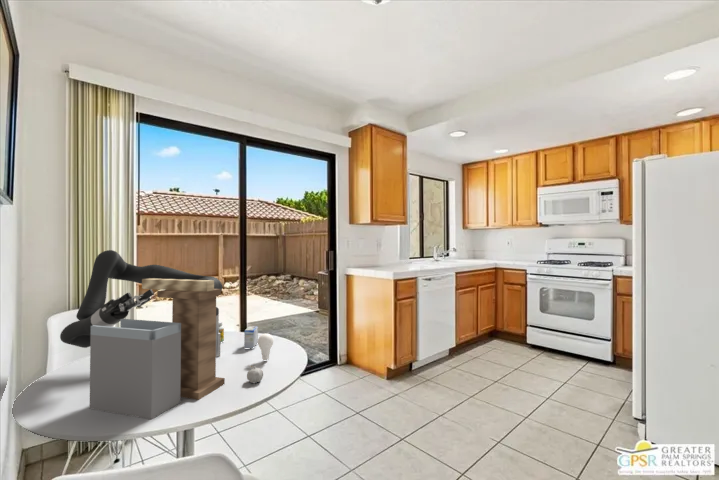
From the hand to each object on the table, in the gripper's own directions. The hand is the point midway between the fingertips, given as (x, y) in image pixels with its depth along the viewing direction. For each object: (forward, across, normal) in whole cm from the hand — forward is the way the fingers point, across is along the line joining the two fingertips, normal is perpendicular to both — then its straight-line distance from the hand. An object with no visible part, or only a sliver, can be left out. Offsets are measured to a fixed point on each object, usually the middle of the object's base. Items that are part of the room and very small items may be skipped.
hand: (141, 293), depth 116 cm
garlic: (+17, +11, +45) cm, 49 cm away
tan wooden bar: (+14, 0, +6) cm, 15 cm away
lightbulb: (+11, +30, +42) cm, 52 cm away
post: (+2, 0, +36) cm, 36 cm away
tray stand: (-3, -14, +33) cm, 36 cm away
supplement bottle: (-20, +47, +23) cm, 56 cm away
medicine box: (-4, +45, +33) cm, 56 cm away
